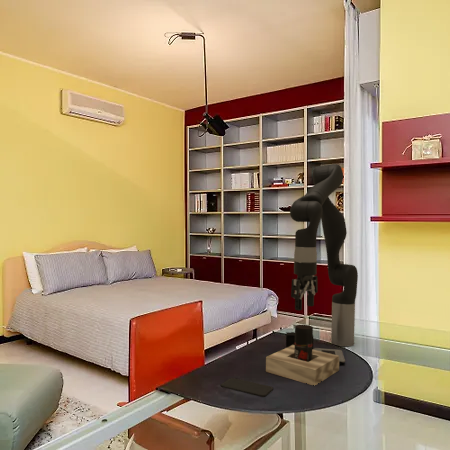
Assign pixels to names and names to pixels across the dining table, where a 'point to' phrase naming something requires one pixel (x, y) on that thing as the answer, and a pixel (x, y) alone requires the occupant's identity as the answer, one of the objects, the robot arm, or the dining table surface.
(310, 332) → the deodorant
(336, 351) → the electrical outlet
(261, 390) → the phone
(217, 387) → the dining table surface
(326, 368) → the holder
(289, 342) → the digital camera
